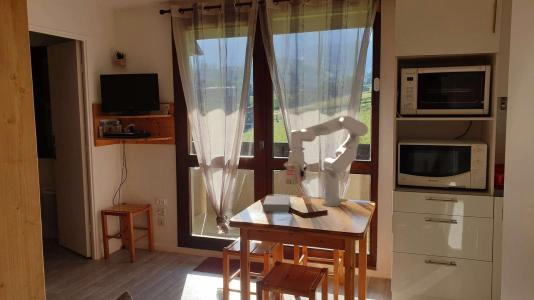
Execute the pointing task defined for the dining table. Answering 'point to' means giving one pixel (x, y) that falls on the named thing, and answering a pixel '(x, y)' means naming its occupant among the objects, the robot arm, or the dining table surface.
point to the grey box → (276, 203)
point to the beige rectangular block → (294, 174)
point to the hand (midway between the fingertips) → (296, 176)
